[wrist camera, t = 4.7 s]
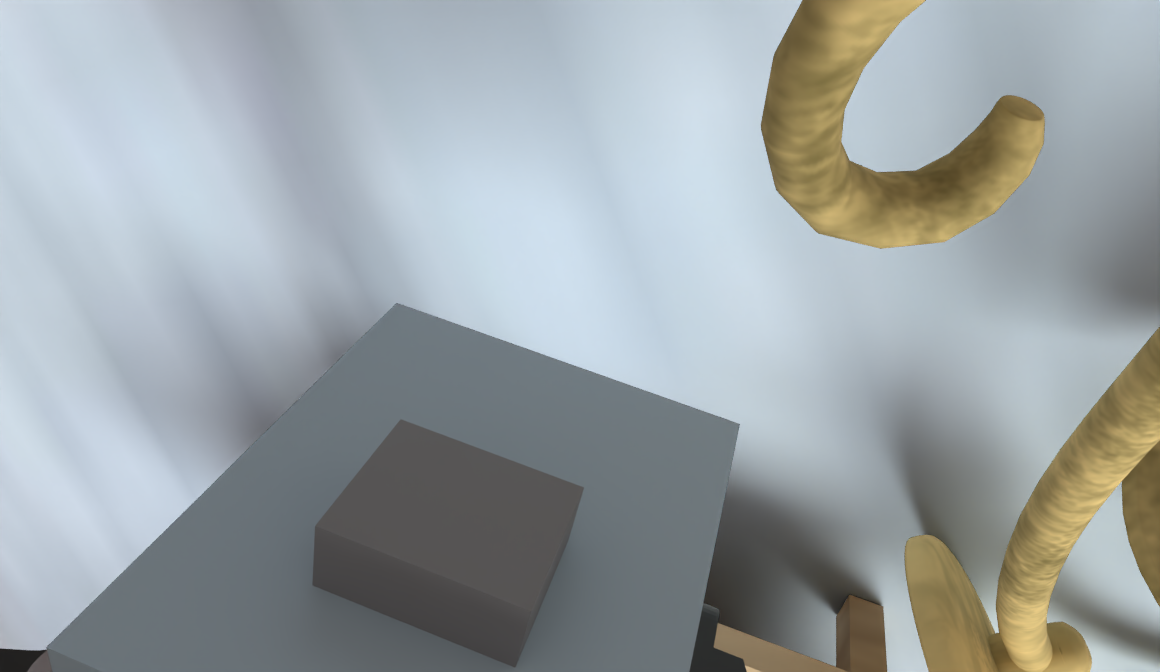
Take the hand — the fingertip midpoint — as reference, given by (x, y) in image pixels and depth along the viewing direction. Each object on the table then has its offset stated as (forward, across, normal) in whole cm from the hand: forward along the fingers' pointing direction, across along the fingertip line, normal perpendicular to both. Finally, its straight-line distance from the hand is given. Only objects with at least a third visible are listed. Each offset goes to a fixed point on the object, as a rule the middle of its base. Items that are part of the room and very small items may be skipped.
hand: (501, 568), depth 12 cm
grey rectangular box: (+1, 0, 0) cm, 1 cm away
